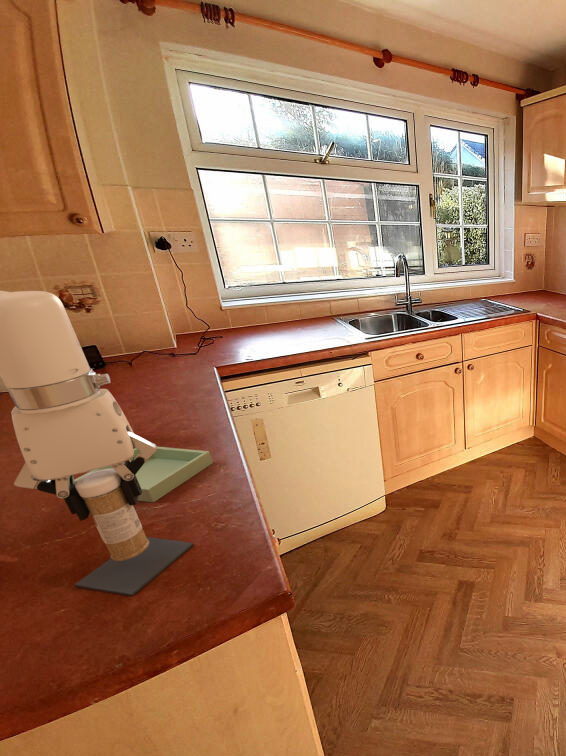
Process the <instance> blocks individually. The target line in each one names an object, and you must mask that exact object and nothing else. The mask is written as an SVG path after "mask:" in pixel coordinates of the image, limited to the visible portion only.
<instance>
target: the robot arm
mask: <svg viewBox="0 0 566 756" xmlns="http://www.w3.org/2000/svg"><path fill="white" fill-rule="evenodd" d="M0 378H1V380H2V382H3V384H4V386H5V388H6V390H7V391H8V394H9V396H10V397H11V399H12V401H13V403H14V407H13V408H12V410H11V412H10V413H11V420H12V425H13V430H14V433H15V438H16V440H17V444H18V446H19V448H20V452H21V455H22V457H23V459H24V463H23V465H22V467H21V468H20V471H19V472H18V474H17V476H16V478H15V480H14V482H13V485H14V486H15V487H17V488H25V489H31V490H38V491H39V492H43V493H48V494H51V495H55V496H56V497H57V498H59V499H63V500H64V502H65V505H66V506H67V508H68V510H69V512H70V514H71V515H77V517H78V519H79V521H81V522H82V521H85V520H87V519H88V518H89V516H90V514H91V513H90V511H89V509H88V508H87V505H86V503H85V501H84V499H82V497H81V496H80V495H79V493H78V491H77V489H76V487H75V484H74V480H75V477H74V476H75V475H79V474H83V473H84V474H85V473H88V472H90V471H92V470H96V469H100V468H103V467H107V466H112V468H113V469H114V470H115V471H116V472H117V473H118V474H119V475H120V476H121V479H122V480H121V483H120V485H121V488H122V490H123V492H124V494H125V497H126V499H127V501H128V503H129V505H131V506H133V507H134V506H136V505H137V504H138V496H139V495H141V494H142V490H141V487H140V484H139V482H138V480H137V477H136V473H137V472H138V471H139V469H140V468H141V467H142V466H143V464H144V463H145V462H146V461H147V460H148V459H149V458H150V457H151V456H152V455H153V454H154V453H155V452H156V451H157V447H158V445H157V444H155V443H153V442H151V441H149V440H147V439H145V438H143V437H142V436H140V435H137V434H135V433H134V430H133V428H132V426H131V425H130V423H129V421H128V418H127V417H126V415H125V413H124V412H123V411H124V410H122V408H121V406H120V405H119V402H118V401H117V400H116V398H115V397H114V396H113V393H111V392H110V390H109V389H108V388H101V386H104V385H107V384H111V377H110V376H109V374H108V373H103V374H102V373H96V372H95V371H94V370H93V369H92V368H91V367H90V365H89V362H88V360H87V358H86V355H85V353H84V351H83V348H82V346H81V344H80V341H79V339H78V336H77V334H76V332H75V329H74V327H73V325H72V323H71V320H70V318H69V315H68V314H67V311H66V308H65V306H64V304H63V302H62V301H61V299H60V298H59V297H58V296H57V295H56V294H54V293H52V292H49V291H45V290H44V291H43V290H22V291H19V290H18V291H6V290H0ZM135 448H136V449H138V450H140V451H141V452H140V453H139V454H138V455H136V456H135V457H134V458H133V460H132V461H131V460H130V458H132V457H133V455H134V451H133V449H135Z"/></svg>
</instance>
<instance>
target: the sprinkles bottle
mask: <svg viewBox="0 0 566 756" xmlns="http://www.w3.org/2000/svg"><path fill="white" fill-rule="evenodd" d="M121 480H122V479H121V476H120V475H119V474H118V473H117V472H116V471H115V470H114V469H103V470H99V471H95V472H92V473H90V474H88V475H85V476H84V477H82V478H80V479H79V480H78V481H77V482H76V484H75V487H76V489H77V491H78V493H79V495H80V496H81V497H82V499H84V501H85V503H86V505H87V508H88V509H89V511H90V513H89V514H90V515H91V518H92V520H93V522H94V524H95V527H96V530H97V531H98V533H99V535H100V538H101V540H102V541H103V543H104V544H105V546H106V548H107V551H108V552H109V554H110V559H111V558H112V559H113V560H115V561H123V560H127V559H131V558H133V557H135V556H137V555H139V554H140V553H142V552H143V551H144V550H146V549H147V547H148V546H149V540H148V539H147V538H146V537H147V535H146V533H145V531H144V529H143V525H142V523H141V520H140V518H139V516H138V513H137V511H136V509H135V507H134V505H133V506H131V505H129V503H128V501H127V499H126V497H125V494H124V492H123V490H122V488H121V485H120V483H121Z"/></svg>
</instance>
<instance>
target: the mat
mask: <svg viewBox="0 0 566 756" xmlns="http://www.w3.org/2000/svg"><path fill="white" fill-rule="evenodd" d="M146 538H147V539H148V540H149V546H148V547H147V549H146V550H144V551H143V552H142V553H140V554H139V555H137V556H135V557H133V558H131V559H127V560H123V561H115V560H113V559H112V558H111V557H110V558H109V559H108V560H107V561H105V562H103V563H102V564H101V565H100V566H98V567H97V568H96V569H94V570H93V571H91V572H90V573H88V574H87V575H86V576H84V577H83V578H81V579H80V580H79V581H77V582H76V583H75V584H74V586H75V587H76V588H80V589H81V588H82V589H87V590H93V591H99V592H105V593H112V594H118V595H122V596H129V597H133V596H135V594H137V593H138V592H140V591H141V590H142V589H143V588H144V587H145V586H146V585H148V584H149V583H150V582H151V581H153V579H155V578H156V577H157V576H158V575H160V574H161V573H162V572H163V571H164V570H165V569H167V568H168V567H169V566H171V565H172V564H173V563H174V562H176V560H177V559H179V558H180V557H181V556H182V555H184V554H185V553H187V551H188V550H190V549H191V548H192V547H193V546H194V545H195V544H194V543H193V542H189V541H188V542H187V541H180V540H174V539H173V540H172V539H165V538H158V537H151V536H146Z"/></svg>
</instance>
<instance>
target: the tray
mask: <svg viewBox="0 0 566 756" xmlns="http://www.w3.org/2000/svg"><path fill="white" fill-rule="evenodd" d="M133 451H134V455H133V457H132V458H130V460H131V461H132V460H133V458H134V457H135V456H136V455H138V454H139V453H140V452H141V451H140V450H138V449H136V448H133ZM212 464H214V461H213V458H212V455H211V452H210V451H209V450H201V449H200V450H199V449H187V448H177V447H168V446H167V447H166V446H157V451H156V452H155V453H154V454H153V455H152V456H151V457H150V458H149V459H148V460H147V461H146V462H145V463H144V464H143V466H142V467H141V468H140V469H139V471H138V472H137V473H136V477H137V480H138V482H139V484H140V487H141V490H142V494H141V495H139V496H138V500H137V502H138V501H140V502H145V503H146V502H147V503H155V502H156V501H158V500H159V499H161V498H162V497H165V495H167V494H169V493H170V492H171V491H173V490H174V489H176V488H177V487H179V486H181V485H182V484H183V483H185V482H187V481H188V480H190V479H191V478H192V477H194V476H195V475H197V474H198V473H200V472H201V471H203V470H205V469H206V468H207V467H210V466H211V465H212ZM103 469H113V468H112V466H107V467H103V468H100V469H96V470H92V471H88V472H85V473H84V474H83V475H81V476H78V477H76V478H74V484H76V482H77V481H78V480H79V479H80V478H82V477H84V476H85V475H88V474H90V473H92V472H95V471H99V470H103Z"/></svg>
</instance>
